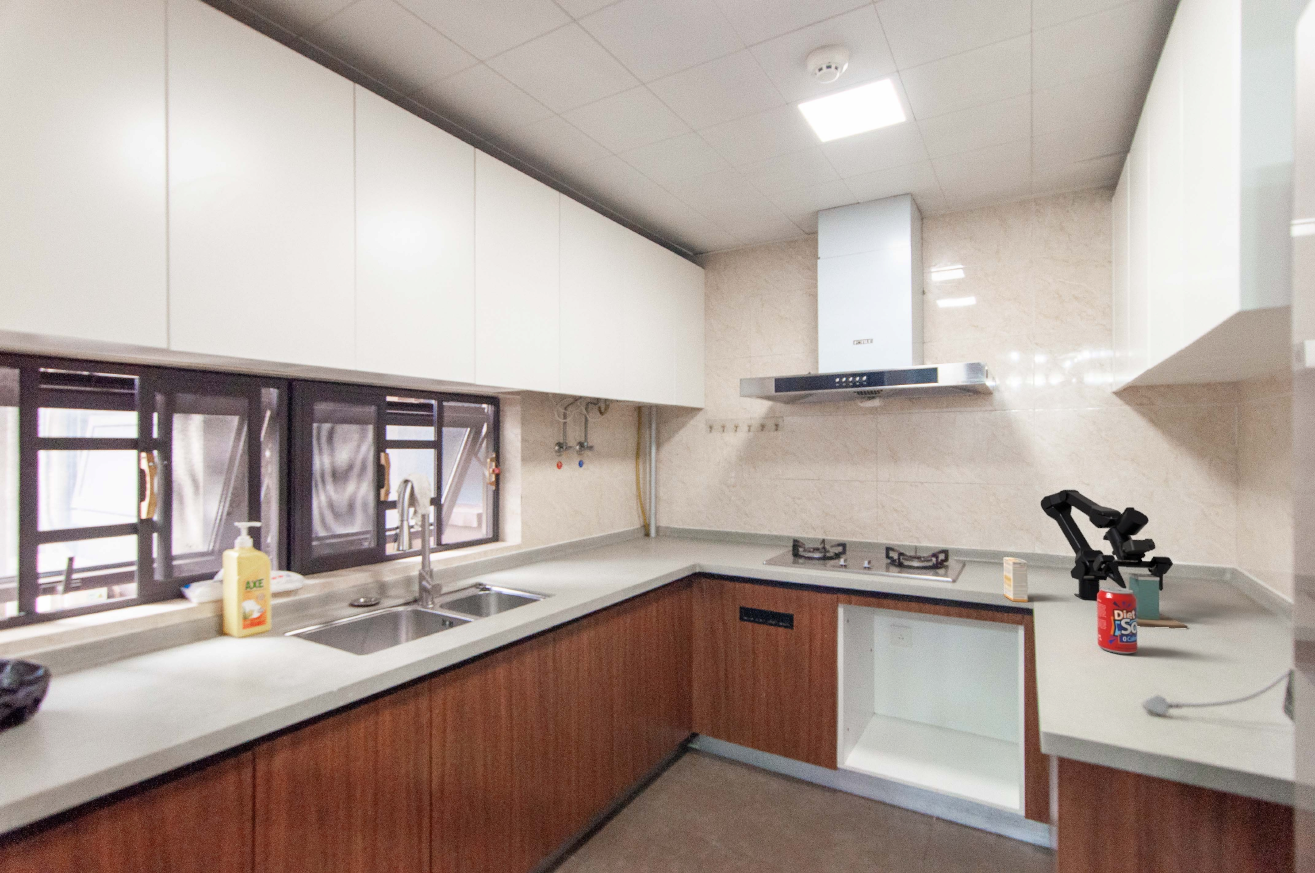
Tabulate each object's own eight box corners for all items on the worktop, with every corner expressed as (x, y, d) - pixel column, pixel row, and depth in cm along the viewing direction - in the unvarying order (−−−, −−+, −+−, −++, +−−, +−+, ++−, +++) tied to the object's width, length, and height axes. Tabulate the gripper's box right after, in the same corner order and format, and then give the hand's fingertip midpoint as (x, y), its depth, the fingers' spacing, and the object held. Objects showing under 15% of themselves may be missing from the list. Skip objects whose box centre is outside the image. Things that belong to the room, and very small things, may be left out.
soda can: (1098, 643, 157) (1098, 584, 157) (1138, 649, 152) (1137, 588, 152) (1096, 651, 151) (1095, 589, 151) (1136, 658, 146) (1136, 594, 146)
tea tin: (1129, 614, 181) (1128, 573, 181) (1149, 615, 180) (1148, 573, 180) (1139, 619, 176) (1138, 576, 176) (1160, 620, 174) (1159, 577, 175)
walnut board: (1104, 614, 186) (1104, 609, 186) (1157, 617, 183) (1157, 612, 183) (1129, 628, 172) (1129, 622, 172) (1187, 631, 169) (1187, 625, 169)
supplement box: (1028, 602, 198) (1028, 561, 198) (1012, 601, 199) (1011, 560, 199) (1019, 596, 206) (1018, 556, 206) (1003, 595, 207) (1002, 556, 207)
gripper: (1097, 527, 185) (1116, 572, 174) (1168, 529, 181) (1193, 574, 170) (1085, 549, 193) (1102, 593, 182) (1153, 551, 189) (1176, 596, 178)
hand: (1143, 589), depth 178 cm, fingers open, 9 cm apart
